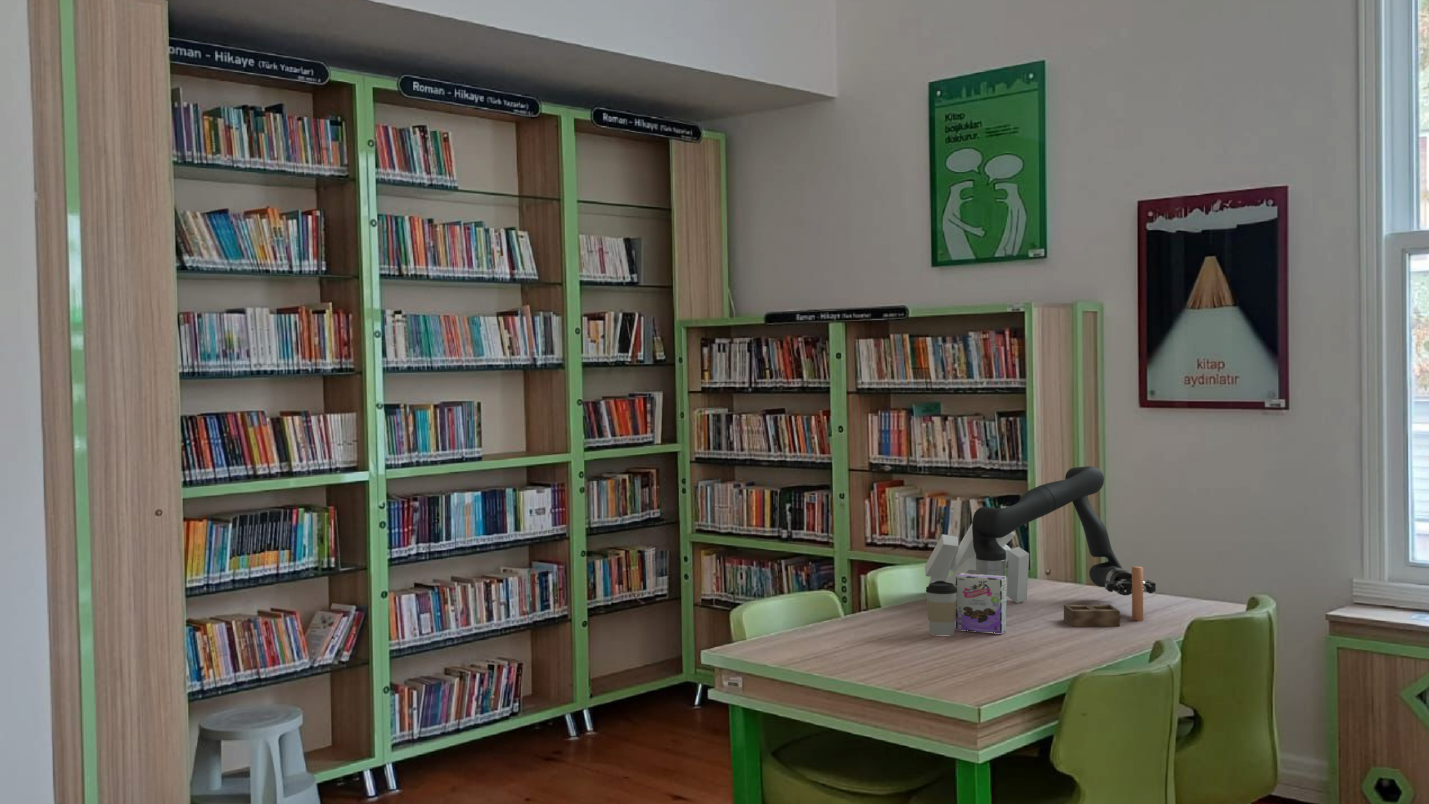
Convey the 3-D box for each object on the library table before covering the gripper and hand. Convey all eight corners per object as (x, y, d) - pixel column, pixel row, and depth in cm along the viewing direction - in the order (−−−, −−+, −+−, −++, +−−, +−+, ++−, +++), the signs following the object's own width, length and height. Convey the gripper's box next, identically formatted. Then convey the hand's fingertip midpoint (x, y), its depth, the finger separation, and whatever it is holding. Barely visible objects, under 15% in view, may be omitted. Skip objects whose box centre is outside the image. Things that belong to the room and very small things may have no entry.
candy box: (955, 631, 367) (954, 575, 367) (960, 627, 372) (960, 572, 372) (1001, 635, 361) (1001, 578, 360) (1007, 631, 366) (1006, 575, 365)
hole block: (1072, 626, 372) (1072, 611, 372) (1063, 619, 382) (1063, 605, 382) (1119, 626, 371) (1119, 610, 371) (1110, 619, 381) (1110, 604, 381)
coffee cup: (960, 637, 358) (959, 585, 358) (928, 637, 358) (928, 585, 358) (954, 630, 367) (954, 579, 367) (923, 631, 367) (923, 580, 367)
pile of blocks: (904, 617, 414) (922, 531, 397) (930, 570, 439) (948, 487, 422) (1008, 653, 403) (1031, 566, 386) (1028, 603, 427) (1050, 518, 410)
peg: (1133, 621, 379) (1133, 568, 378) (1130, 618, 382) (1130, 566, 381) (1144, 621, 378) (1144, 568, 378) (1141, 618, 382) (1141, 566, 381)
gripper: (1098, 569, 396) (1113, 578, 380) (1143, 569, 396) (1161, 577, 380) (1098, 593, 397) (1113, 602, 380) (1144, 593, 396) (1161, 602, 380)
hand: (1137, 590), depth 380 cm, fingers open, 8 cm apart
